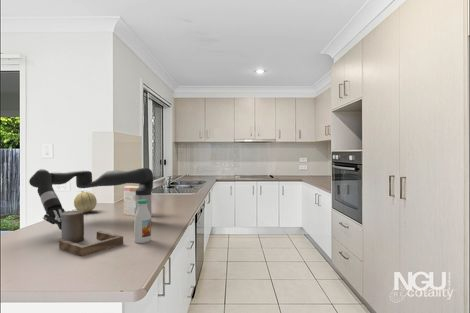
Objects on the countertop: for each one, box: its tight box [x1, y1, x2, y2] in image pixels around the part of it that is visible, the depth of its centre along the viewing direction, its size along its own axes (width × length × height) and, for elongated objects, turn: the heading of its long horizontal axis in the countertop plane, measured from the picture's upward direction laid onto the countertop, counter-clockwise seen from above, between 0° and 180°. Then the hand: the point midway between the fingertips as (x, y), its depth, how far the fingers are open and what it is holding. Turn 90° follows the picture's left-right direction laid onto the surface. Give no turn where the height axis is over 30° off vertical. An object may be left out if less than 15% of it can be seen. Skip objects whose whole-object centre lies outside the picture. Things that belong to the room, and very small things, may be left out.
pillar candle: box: [61, 210, 85, 243], centre depth 145 cm, size 10×10×15 cm
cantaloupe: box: [73, 190, 98, 213], centre depth 212 cm, size 15×15×15 cm
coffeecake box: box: [123, 185, 139, 217], centre depth 205 cm, size 15×7×20 cm, turn 58°
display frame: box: [58, 230, 124, 257], centre depth 136 cm, size 18×20×4 cm
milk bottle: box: [133, 199, 152, 244], centre depth 144 cm, size 8×8×20 cm
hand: (63, 228), depth 149 cm, fingers closed
